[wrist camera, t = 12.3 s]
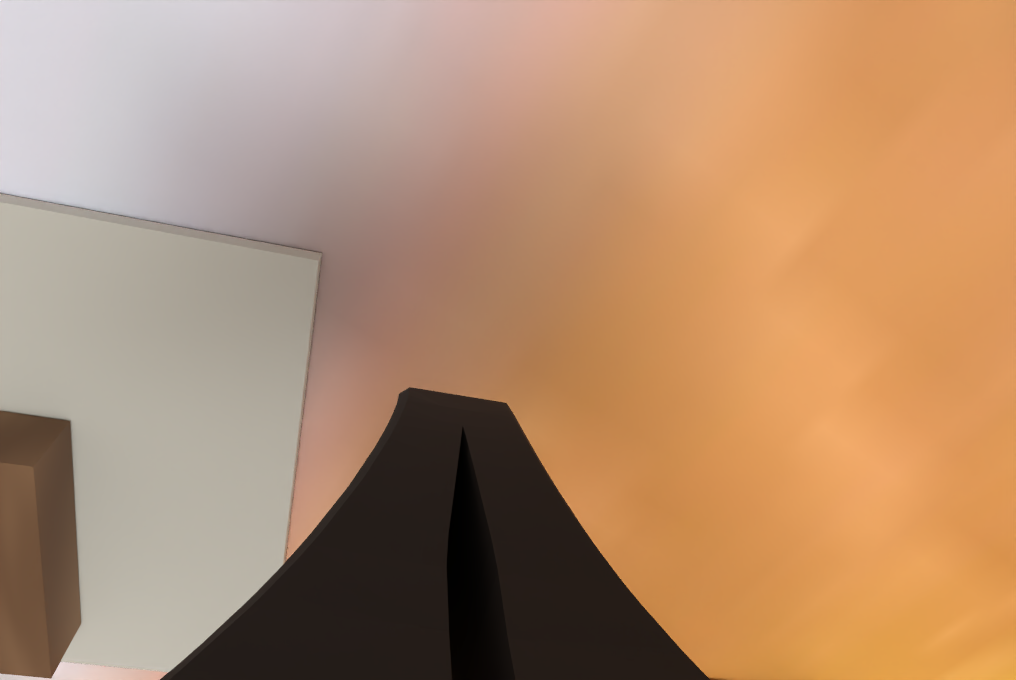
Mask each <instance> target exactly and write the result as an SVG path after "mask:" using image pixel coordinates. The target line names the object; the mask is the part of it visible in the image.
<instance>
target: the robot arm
mask: <svg viewBox="0 0 1016 680" xmlns="http://www.w3.org/2000/svg"><path fill="white" fill-rule="evenodd" d="M160 680H710V679H709V678H708V677H707V676H706V675H705V674H704V673H703V672H702V671H701V670H700V669H699V668H698V667H697V666H696V665H695V664H694V663H693V662H692V661H691V660H690V658H689V657H688V656H687V655H686V654H685V653H684V652H683V651H682V650H681V649H680V648H679V647H678V645H677V644H676V643H675V642H674V641H673V640H672V639H671V638H670V636H669V635H668V634H667V633H666V632H665V631H664V630H663V629H662V627H661V626H660V625H659V624H658V623H657V622H656V621H655V620H654V618H653V617H652V616H651V615H650V614H649V613H648V612H647V610H646V609H645V608H644V607H643V606H642V605H641V604H640V603H639V601H638V600H637V599H636V598H635V596H634V595H633V594H632V593H631V592H630V590H629V589H628V588H627V587H626V585H625V584H624V583H623V582H622V580H621V579H620V578H619V577H618V575H617V574H616V573H615V571H614V570H613V569H612V567H611V566H610V565H609V563H608V562H607V561H606V559H605V558H604V557H603V555H602V554H601V553H600V551H599V550H598V549H597V547H596V546H595V544H594V543H593V542H592V540H591V539H590V537H589V536H588V534H587V533H586V532H585V530H584V529H583V527H582V526H581V524H580V523H579V521H578V520H577V518H576V517H575V515H574V514H573V512H572V511H571V509H570V508H569V506H568V505H567V503H566V502H565V500H564V498H563V497H562V495H561V494H560V492H559V491H558V489H557V488H556V486H555V484H554V483H553V481H552V480H551V478H550V476H549V475H548V473H547V472H546V470H545V468H544V466H543V465H542V463H541V461H540V460H539V458H538V456H537V455H536V453H535V451H534V449H533V448H532V446H531V444H530V443H529V441H528V439H527V437H526V435H525V434H524V432H523V430H522V428H521V427H520V425H519V423H518V421H517V419H516V418H515V416H514V414H513V412H512V411H511V409H510V408H509V406H508V405H507V403H503V402H497V401H490V400H484V399H478V398H472V397H466V396H460V395H453V394H447V393H441V392H435V391H429V390H422V389H416V388H408V389H406V390H405V391H403V392H401V393H400V394H399V397H398V402H397V405H396V407H395V410H394V412H393V415H392V417H391V419H390V421H389V423H388V425H387V427H386V429H385V431H384V432H383V434H382V436H381V438H380V439H379V441H378V443H377V445H376V446H375V448H374V449H373V451H372V452H371V454H370V455H369V457H368V458H367V460H366V461H365V463H364V464H363V466H362V467H361V469H360V470H359V472H358V473H357V475H356V476H355V478H354V479H353V481H352V482H351V483H350V485H349V486H348V488H347V489H346V490H345V492H344V493H343V494H342V495H341V497H340V498H339V499H338V500H337V502H336V503H335V504H334V505H333V507H332V508H331V509H330V510H329V512H328V513H327V514H326V515H325V517H324V518H323V519H322V520H321V522H320V523H319V524H318V525H317V527H316V528H315V529H314V530H313V532H312V533H311V534H310V535H309V536H308V537H307V539H306V540H305V541H304V542H303V543H302V544H301V545H300V546H299V548H298V549H297V550H296V551H295V552H294V553H293V554H292V555H291V557H290V558H289V559H288V560H287V561H286V562H285V563H284V564H283V565H282V566H281V567H280V568H279V569H278V570H277V572H276V573H275V574H274V575H273V576H272V577H271V578H270V579H269V580H268V581H267V582H266V583H265V584H264V585H263V586H262V587H261V588H260V589H259V590H258V591H257V592H256V593H255V594H254V595H253V596H252V597H251V598H250V599H249V600H248V601H247V602H246V603H245V604H244V605H243V606H242V607H241V608H239V609H238V610H237V611H236V612H235V613H234V614H233V615H232V616H231V617H230V618H229V619H228V620H227V621H225V622H224V623H223V624H222V625H221V626H220V627H219V628H218V629H217V630H216V631H215V632H214V633H213V634H212V635H210V636H209V637H208V638H207V639H206V640H205V641H204V642H203V643H202V644H201V645H200V646H199V647H197V648H196V649H195V650H194V651H193V652H192V653H191V654H189V655H188V656H187V657H186V658H185V659H184V660H183V661H181V662H180V663H179V664H178V665H177V666H176V667H174V668H173V669H172V670H171V671H170V672H169V673H167V674H166V675H165V676H164V677H163V678H161V679H160Z"/></svg>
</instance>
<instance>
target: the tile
mask: <svg viewBox="0 0 1016 680" xmlns="http://www.w3.org/2000/svg"><path fill="white" fill-rule="evenodd" d="M80 625H81V613H80V594H79V575H78V557H77V538H76V519H75V500H74V482H73V463H72V444H71V426H70V421H66V420H59V419H52V418H46V417H39V416H32V415H25V414H18V413H11V412H4V411H0V673H1V674H12V675H22V676H32V677H43V678H52V676H53V674H54V672H55V670H56V668H57V667H58V665H59V663H60V661H61V659H62V658H63V656H64V654H65V652H66V650H67V649H68V647H69V645H70V643H71V641H72V640H73V638H74V636H75V634H76V632H77V630H78V629H79V627H80Z"/></svg>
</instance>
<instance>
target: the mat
mask: <svg viewBox="0 0 1016 680" xmlns="http://www.w3.org/2000/svg"><path fill="white" fill-rule="evenodd" d="M321 257H322V253H318V252H313V251H307V250H302V249H297V248H291V247H286V246H280V245H275V244H270V243H264V242H259V241H253V240H248V239H243V238H237V237H232V236H227V235H221V234H216V233H210V232H205V231H200V230H194V229H189V228H183V227H178V226H173V225H167V224H162V223H157V222H151V221H146V220H140V219H135V218H130V217H124V216H119V215H113V214H108V213H103V212H97V211H92V210H87V209H81V208H76V207H70V206H65V205H60V204H54V203H49V202H43V201H38V200H33V199H27V198H22V197H17V196H11V195H6V194H0V411H4V412H11V413H18V414H25V415H32V416H39V417H46V418H52V419H59V420H66V421H70V426H71V444H72V463H73V482H74V500H75V519H76V538H77V557H78V575H79V594H80V613H81V625H80V627H79V629H78V630H77V632H76V634H75V636H74V638H73V640H72V641H71V643H70V645H69V647H68V649H67V650H66V652H65V654H64V656H63V658H62V659H61V661H60V662H70V663H80V664H90V665H100V666H110V667H120V668H130V669H140V670H150V671H161V672H170V671H171V670H172V669H173V668H174V667H176V666H177V665H178V664H179V663H180V662H181V661H183V660H184V659H185V658H186V657H187V656H188V655H189V654H191V653H192V652H193V651H194V650H195V649H196V648H197V647H199V646H200V645H201V644H202V643H203V642H204V641H205V640H206V639H207V638H208V637H209V636H210V635H212V634H213V633H214V632H215V631H216V630H217V629H218V628H219V627H220V626H221V625H222V624H223V623H224V622H225V621H227V620H228V619H229V618H230V617H231V616H232V615H233V614H234V613H235V612H236V611H237V610H238V609H239V608H241V607H242V606H243V605H244V604H245V603H246V602H247V601H248V600H249V599H250V598H251V597H252V596H253V595H254V594H255V593H256V592H257V591H258V590H259V589H260V588H261V587H262V586H263V585H264V584H265V583H266V582H267V581H268V580H269V579H270V578H271V577H272V576H273V575H274V574H275V573H276V572H277V570H278V569H279V568H280V567H281V566H282V565H283V564H284V563H285V560H286V551H287V543H288V534H289V526H290V518H291V509H292V501H293V492H294V484H295V475H296V467H297V459H298V450H299V442H300V433H301V425H302V417H303V408H304V400H305V391H306V383H307V375H308V366H309V358H310V349H311V341H312V333H313V324H314V316H315V307H316V299H317V290H318V282H319V274H320V265H321Z"/></svg>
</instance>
